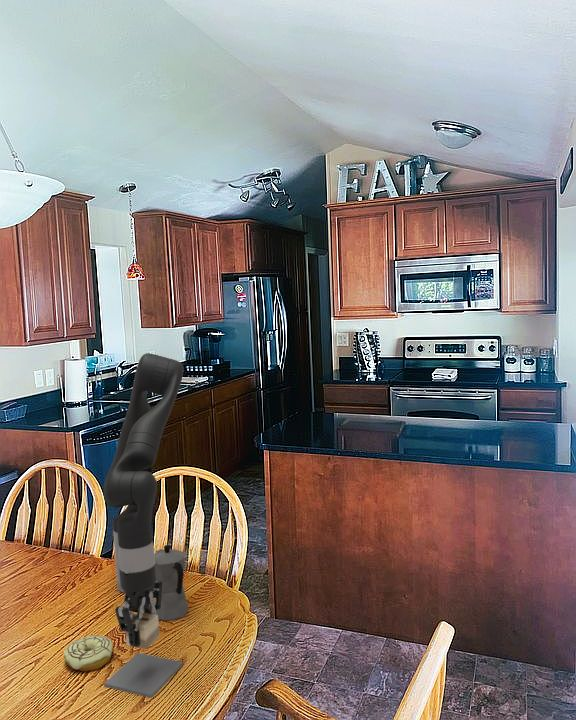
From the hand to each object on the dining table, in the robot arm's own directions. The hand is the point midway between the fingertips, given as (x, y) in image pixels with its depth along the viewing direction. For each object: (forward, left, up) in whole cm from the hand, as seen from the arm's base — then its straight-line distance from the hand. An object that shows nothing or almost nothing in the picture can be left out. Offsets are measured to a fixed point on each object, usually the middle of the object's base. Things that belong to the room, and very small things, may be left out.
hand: (143, 638), depth 135 cm
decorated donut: (+7, -14, -9) cm, 18 cm away
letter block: (0, 0, 0) cm, 0 cm away
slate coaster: (0, 0, -8) cm, 8 cm away
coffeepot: (-17, -20, -9) cm, 28 cm away
